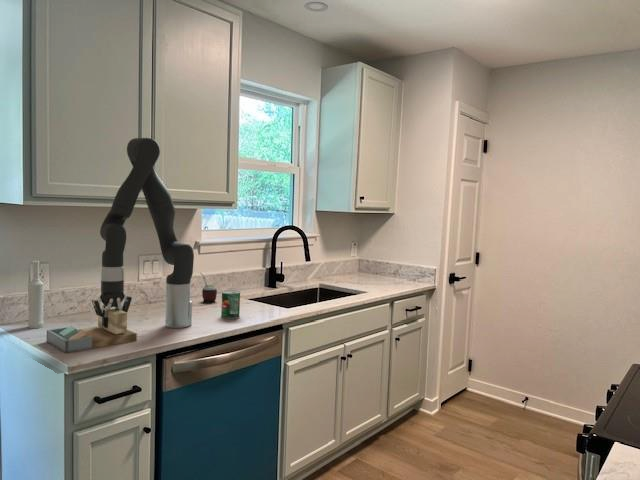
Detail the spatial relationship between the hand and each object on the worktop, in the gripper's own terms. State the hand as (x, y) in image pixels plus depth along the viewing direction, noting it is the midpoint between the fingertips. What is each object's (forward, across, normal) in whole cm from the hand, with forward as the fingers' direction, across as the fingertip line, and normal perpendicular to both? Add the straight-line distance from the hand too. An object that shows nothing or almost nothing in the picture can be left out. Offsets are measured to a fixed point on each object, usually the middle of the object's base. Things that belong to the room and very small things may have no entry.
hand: (112, 326), depth 177 cm
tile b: (+3, +12, +4) cm, 14 cm away
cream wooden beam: (+1, 0, 0) cm, 1 cm away
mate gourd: (+5, -63, -32) cm, 71 cm away
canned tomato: (+5, -53, -1) cm, 53 cm away
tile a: (+3, +12, -4) cm, 13 cm away
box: (+4, +15, 0) cm, 15 cm away
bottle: (+4, +15, -31) cm, 35 cm away
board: (+4, +3, 0) cm, 5 cm away
